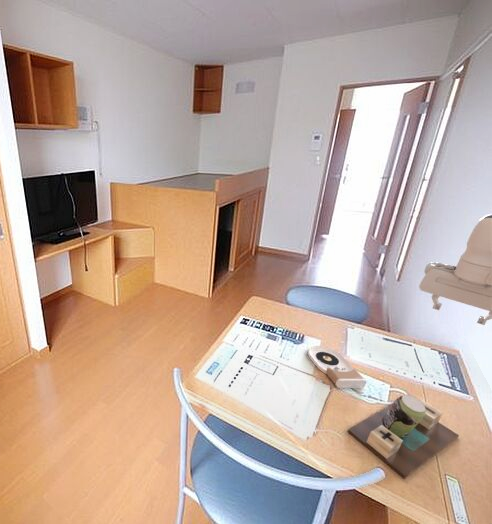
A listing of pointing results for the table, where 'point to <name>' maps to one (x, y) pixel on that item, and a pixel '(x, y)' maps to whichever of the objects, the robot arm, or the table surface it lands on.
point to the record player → (336, 367)
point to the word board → (404, 440)
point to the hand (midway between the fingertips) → (457, 315)
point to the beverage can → (404, 415)
